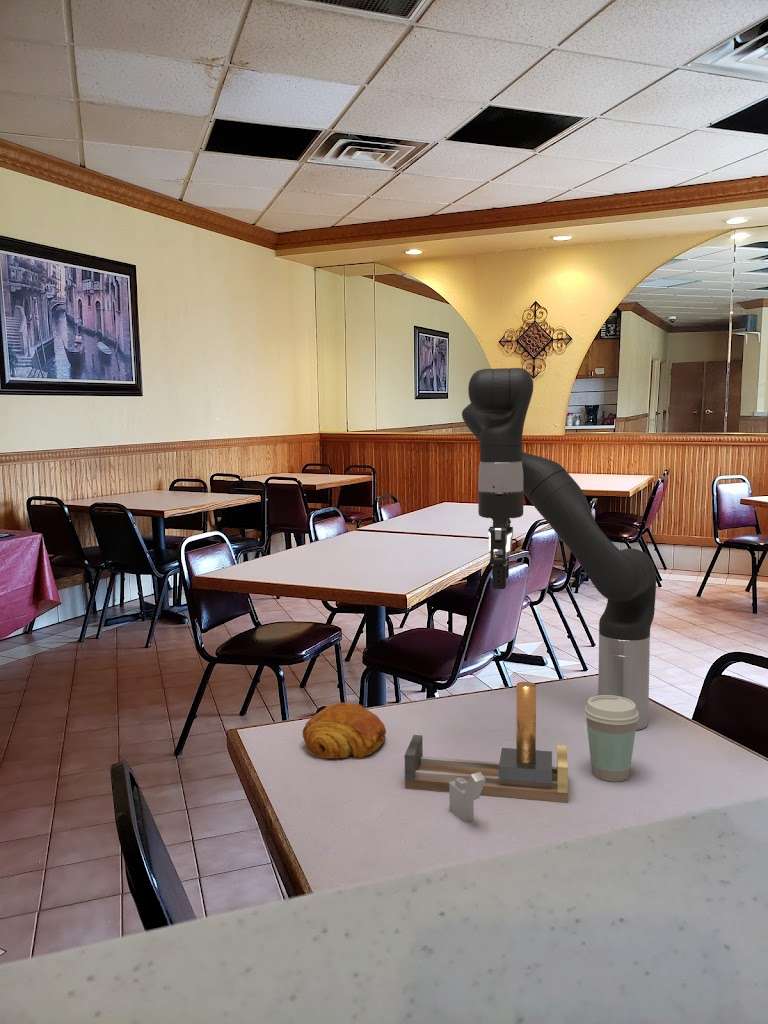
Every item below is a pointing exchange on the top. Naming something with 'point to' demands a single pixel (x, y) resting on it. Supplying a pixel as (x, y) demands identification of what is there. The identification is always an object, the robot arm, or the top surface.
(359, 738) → the croissant
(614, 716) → the coffee cup
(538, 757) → the carriage
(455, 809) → the lighter
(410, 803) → the top surface
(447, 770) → the rail track
